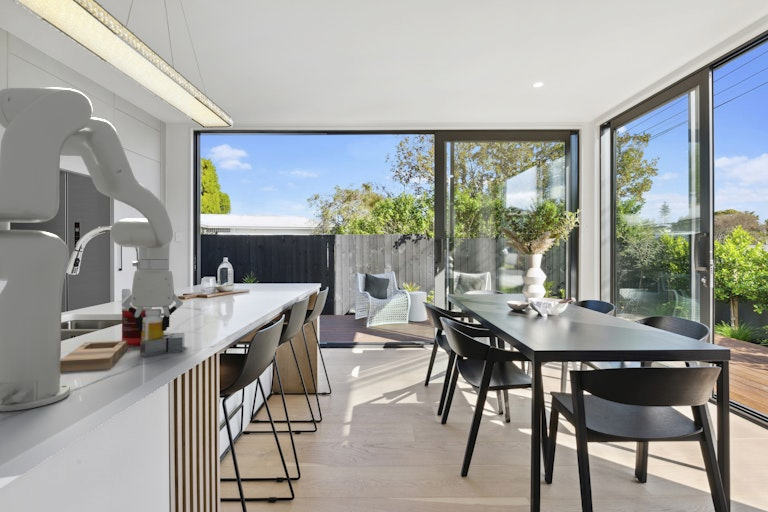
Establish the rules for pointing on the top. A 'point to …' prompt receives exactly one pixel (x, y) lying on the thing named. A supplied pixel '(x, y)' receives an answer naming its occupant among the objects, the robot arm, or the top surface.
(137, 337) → the canned food
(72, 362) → the wooden board with cutout
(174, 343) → the v block
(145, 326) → the supplement bottle
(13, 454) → the top surface
